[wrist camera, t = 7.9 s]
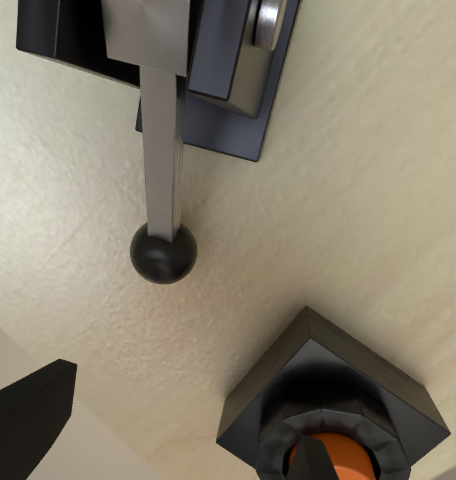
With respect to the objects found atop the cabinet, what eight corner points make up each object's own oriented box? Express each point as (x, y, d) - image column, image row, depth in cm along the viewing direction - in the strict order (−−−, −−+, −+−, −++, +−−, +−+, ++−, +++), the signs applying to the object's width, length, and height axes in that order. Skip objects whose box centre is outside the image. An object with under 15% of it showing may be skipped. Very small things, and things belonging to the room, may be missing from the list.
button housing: (331, 471, 22) (344, 564, 17) (224, 399, 22) (207, 473, 17) (425, 387, 19) (471, 468, 15) (306, 305, 19) (313, 360, 14)
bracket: (259, 161, 17) (231, 189, 8) (143, 130, 18) (-9, 125, 9) (309, -28, 15) (349, -293, 6) (173, -57, 15) (6, -348, 6)
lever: (202, 257, 18) (183, 305, 16) (147, 241, 18) (121, 286, 16) (243, -76, 9) (209, -59, 7) (128, -100, 9) (61, -92, 7)
